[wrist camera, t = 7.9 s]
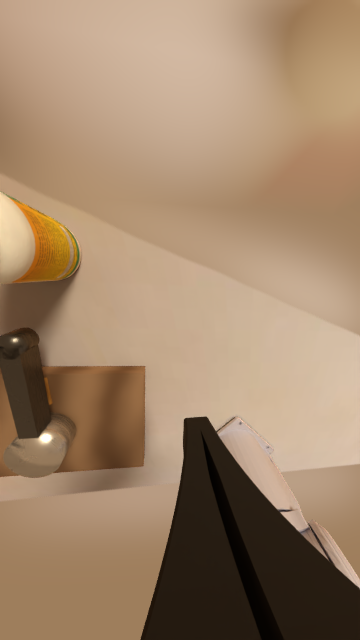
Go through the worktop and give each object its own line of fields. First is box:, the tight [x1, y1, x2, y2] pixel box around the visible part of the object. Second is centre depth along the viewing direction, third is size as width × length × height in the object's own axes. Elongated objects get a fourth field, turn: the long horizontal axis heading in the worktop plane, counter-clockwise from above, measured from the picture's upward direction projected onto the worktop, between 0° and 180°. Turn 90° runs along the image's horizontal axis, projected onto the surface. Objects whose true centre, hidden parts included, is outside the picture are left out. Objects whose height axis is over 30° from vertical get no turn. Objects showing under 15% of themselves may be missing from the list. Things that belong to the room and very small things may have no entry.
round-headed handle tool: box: [0, 328, 77, 478], centre depth 16 cm, size 15×5×3 cm, turn 177°
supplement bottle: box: [0, 191, 81, 284], centre depth 11 cm, size 5×5×10 cm
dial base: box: [0, 366, 145, 477], centre depth 20 cm, size 20×14×2 cm
